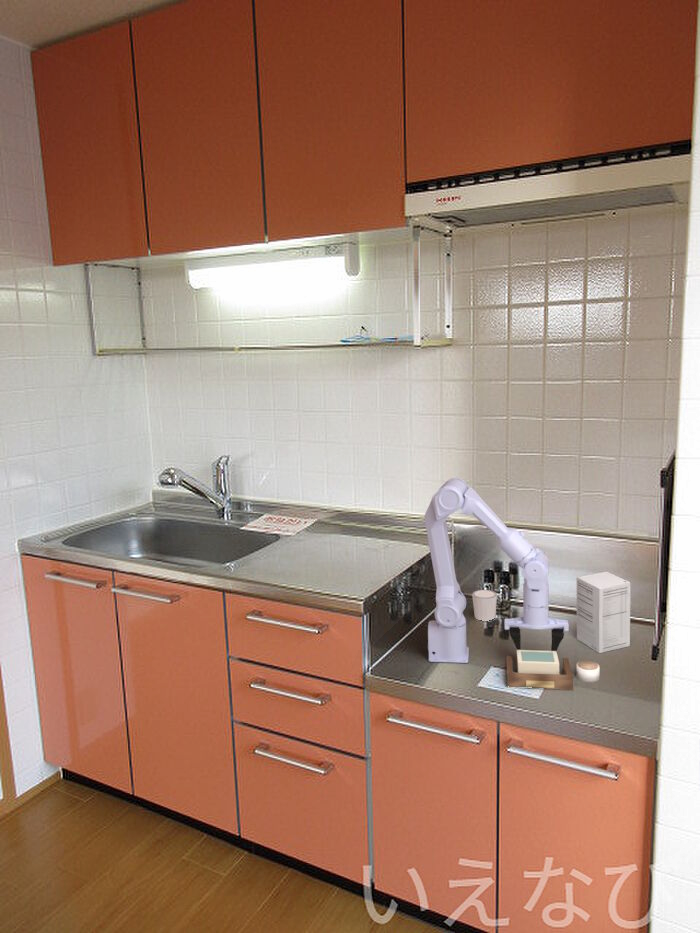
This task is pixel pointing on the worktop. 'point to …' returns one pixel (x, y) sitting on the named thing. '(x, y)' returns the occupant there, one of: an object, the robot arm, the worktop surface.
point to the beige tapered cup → (484, 604)
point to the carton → (537, 662)
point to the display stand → (540, 678)
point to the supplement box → (603, 611)
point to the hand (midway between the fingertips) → (536, 657)
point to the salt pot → (588, 671)
